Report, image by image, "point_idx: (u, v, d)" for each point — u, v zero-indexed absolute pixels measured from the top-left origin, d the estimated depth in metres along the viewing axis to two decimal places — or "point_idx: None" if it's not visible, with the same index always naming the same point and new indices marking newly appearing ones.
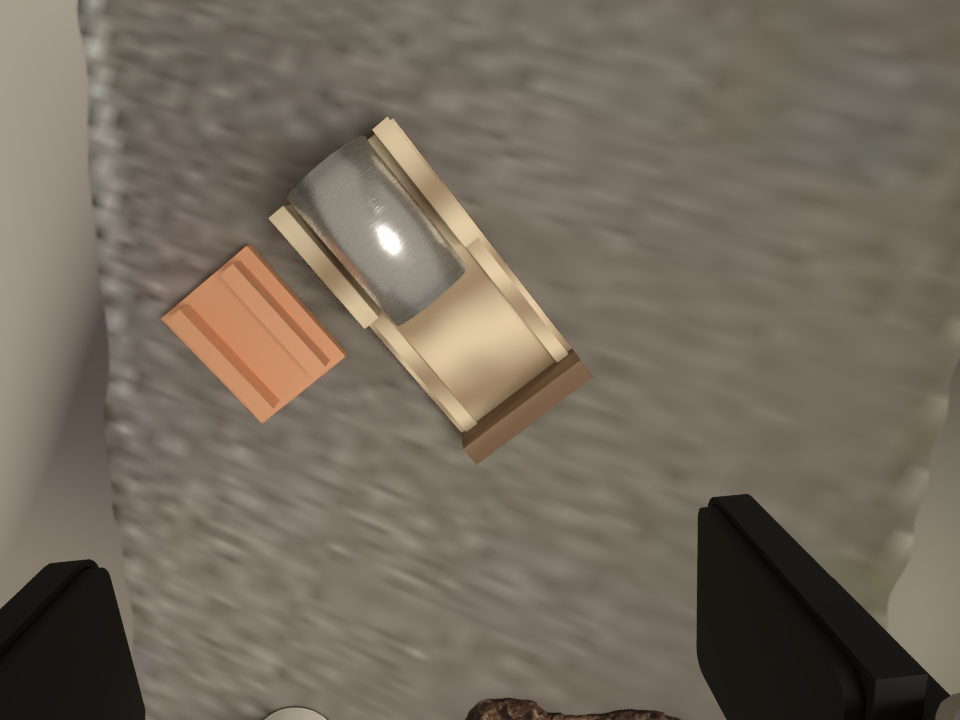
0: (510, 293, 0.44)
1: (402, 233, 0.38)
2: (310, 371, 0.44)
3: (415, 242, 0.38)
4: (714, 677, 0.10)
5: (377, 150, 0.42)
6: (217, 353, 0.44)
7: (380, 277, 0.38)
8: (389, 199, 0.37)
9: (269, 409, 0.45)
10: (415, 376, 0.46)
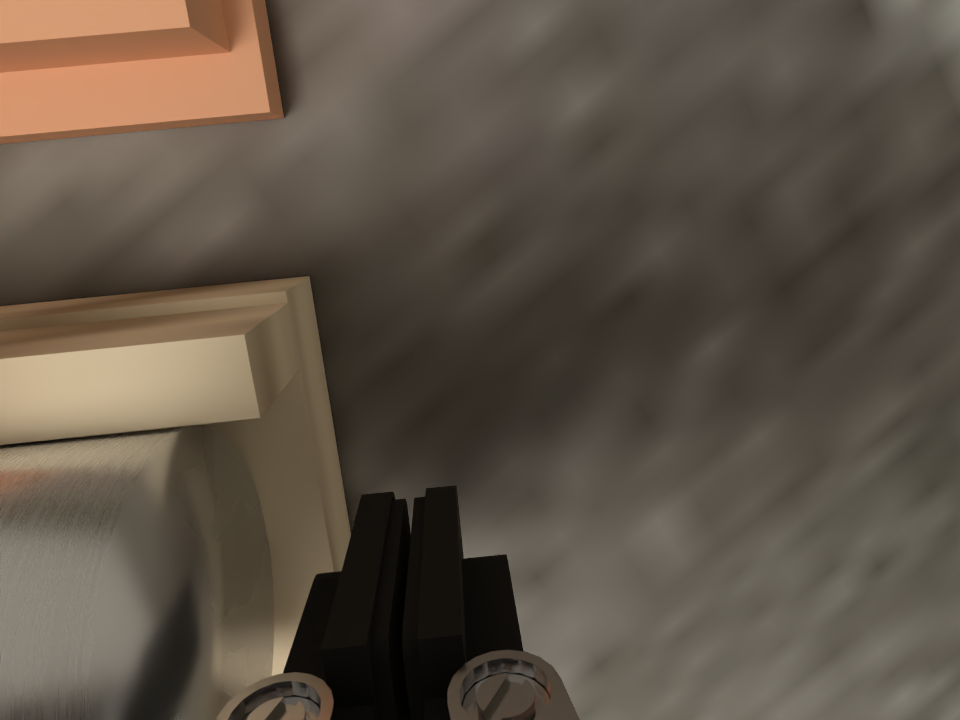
0: None
1: None
2: None
3: None
4: None
5: None
6: None
7: None
8: None
9: None
10: None
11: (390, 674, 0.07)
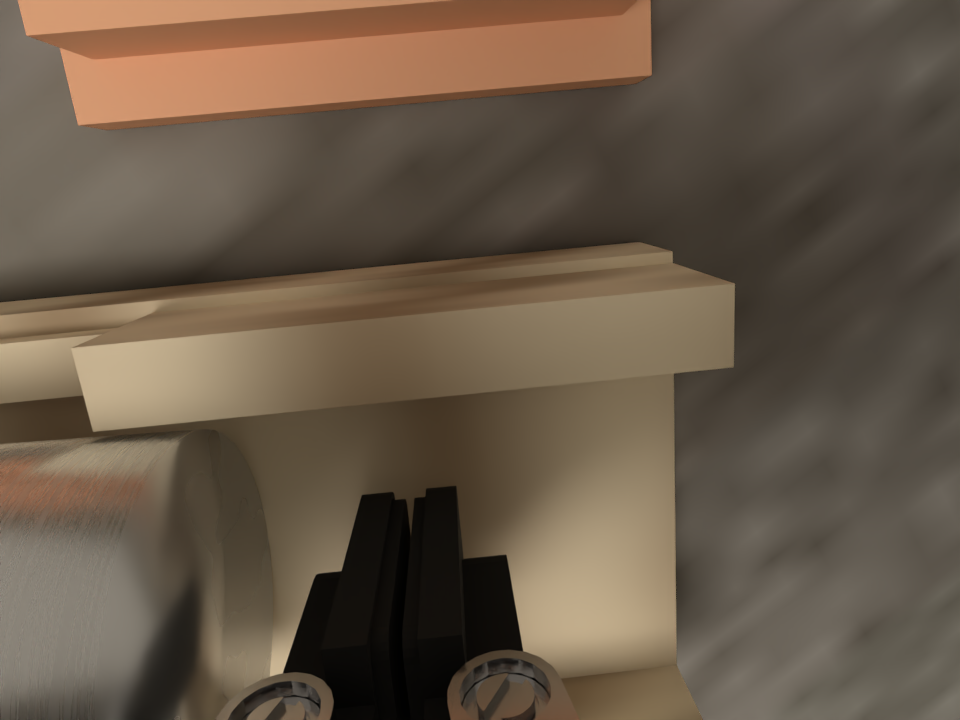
0: None
1: None
2: None
3: None
4: None
5: (635, 644, 0.13)
6: None
7: None
8: None
9: None
10: None
11: (390, 674, 0.07)
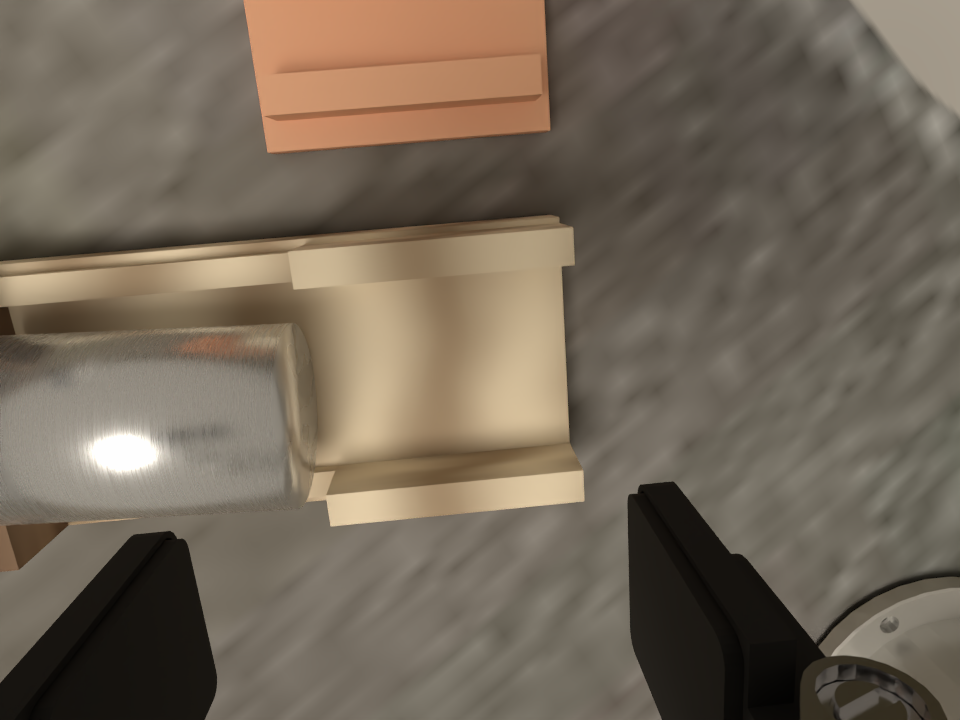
0: None
1: (79, 501, 0.19)
2: (270, 80, 0.20)
3: (53, 508, 0.19)
4: (642, 654, 0.10)
5: (546, 429, 0.25)
6: None
7: (16, 416, 0.18)
8: (158, 510, 0.19)
9: None
10: (156, 255, 0.22)
11: None
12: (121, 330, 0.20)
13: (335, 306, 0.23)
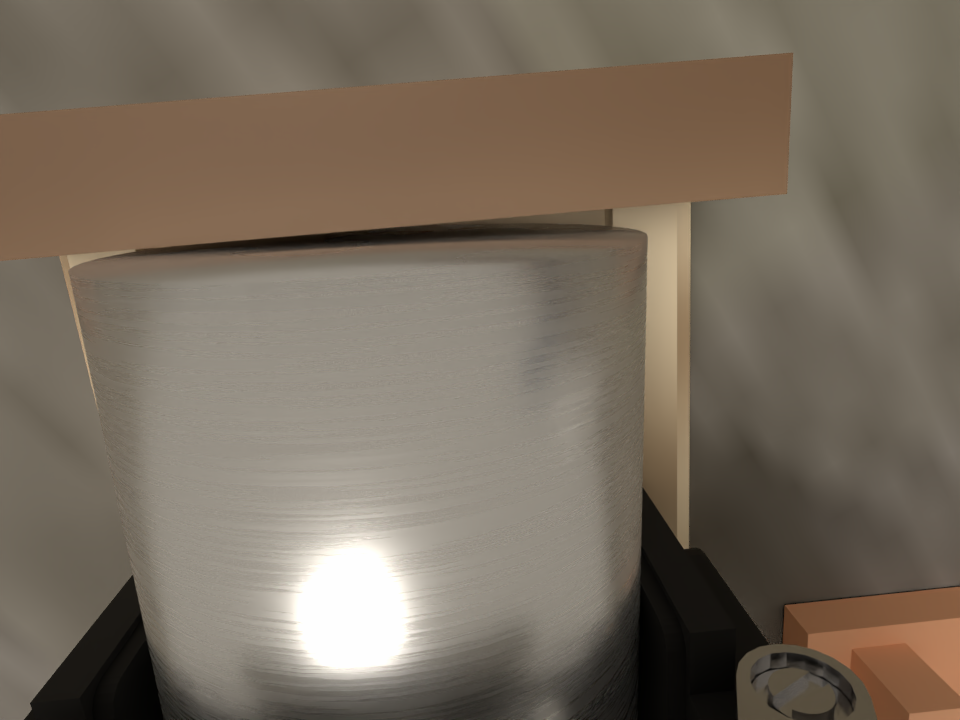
0: None
1: None
2: None
3: (213, 663, 0.06)
4: None
5: None
6: None
7: (544, 609, 0.06)
8: None
9: None
10: (681, 498, 0.12)
11: None
12: None
13: None
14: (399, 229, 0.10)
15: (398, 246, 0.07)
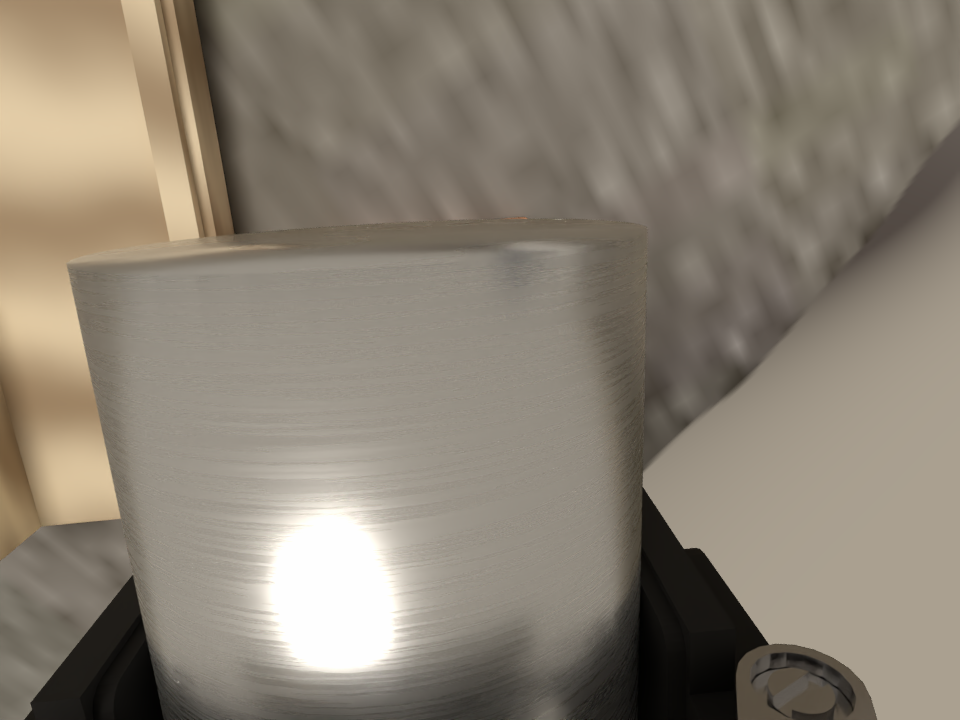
0: None
1: None
2: None
3: (212, 657, 0.06)
4: None
5: (52, 504, 0.25)
6: None
7: (544, 602, 0.06)
8: None
9: None
10: (191, 122, 0.21)
11: None
12: None
13: None
14: (398, 224, 0.10)
15: (397, 240, 0.07)
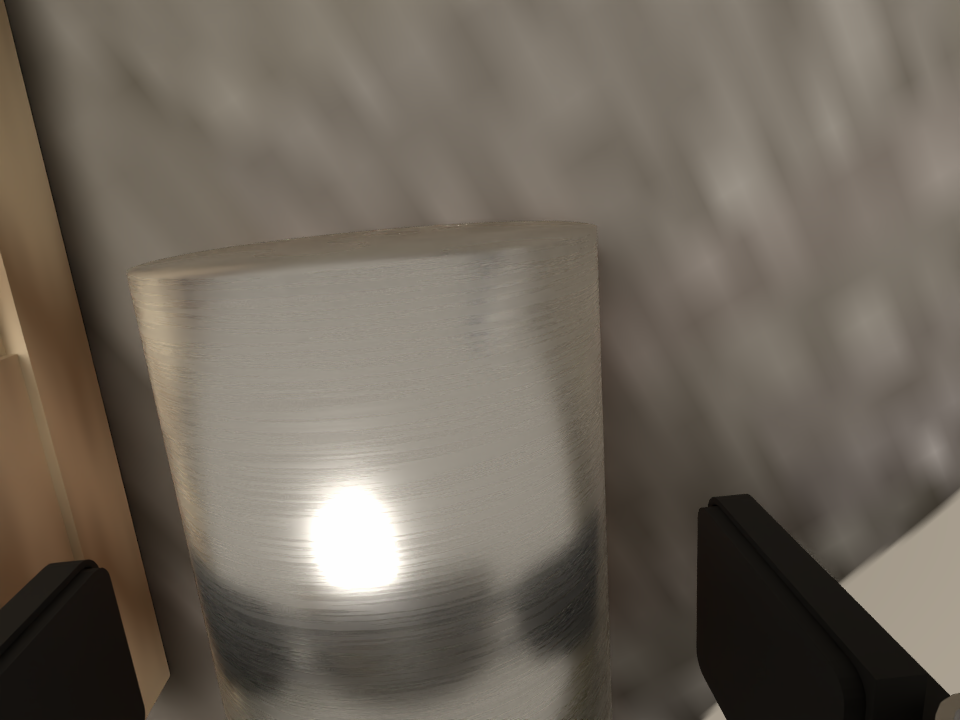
0: None
1: (294, 654, 0.07)
2: None
3: (260, 582, 0.07)
4: (714, 677, 0.10)
5: None
6: None
7: (523, 527, 0.07)
8: None
9: None
10: None
11: None
12: None
13: None
14: (390, 230, 0.11)
15: (393, 244, 0.08)
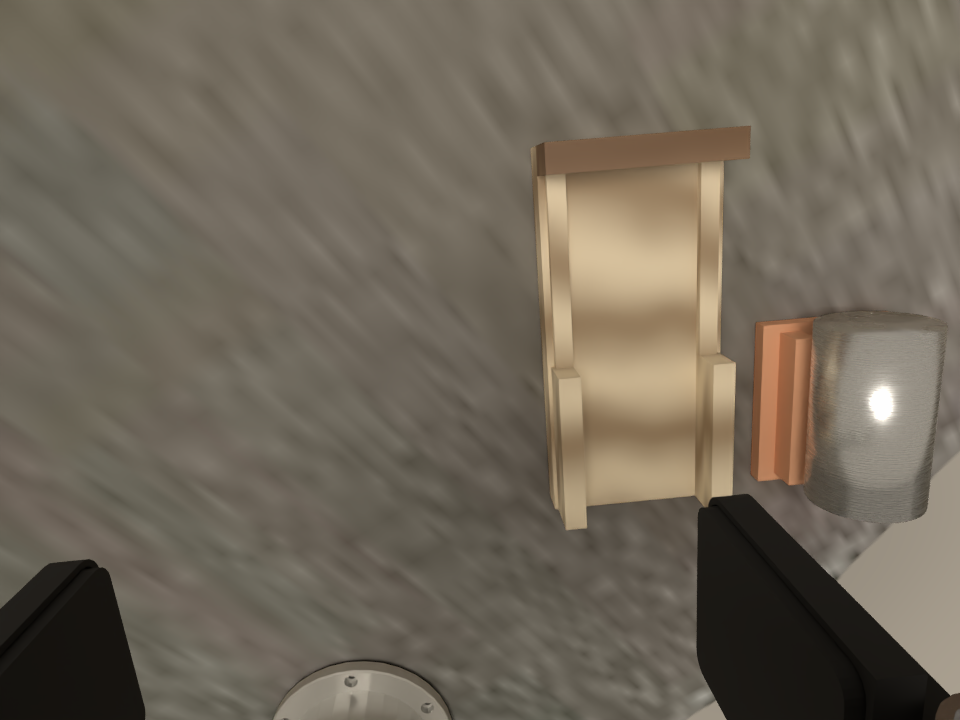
0: (562, 288, 0.35)
1: (885, 418, 0.32)
2: None
3: (880, 401, 0.32)
4: (714, 677, 0.10)
5: (588, 493, 0.39)
6: None
7: (936, 390, 0.32)
8: (865, 452, 0.33)
9: None
10: (719, 262, 0.36)
11: None
12: None
13: (677, 368, 0.37)
14: (851, 314, 0.36)
15: (890, 324, 0.33)
